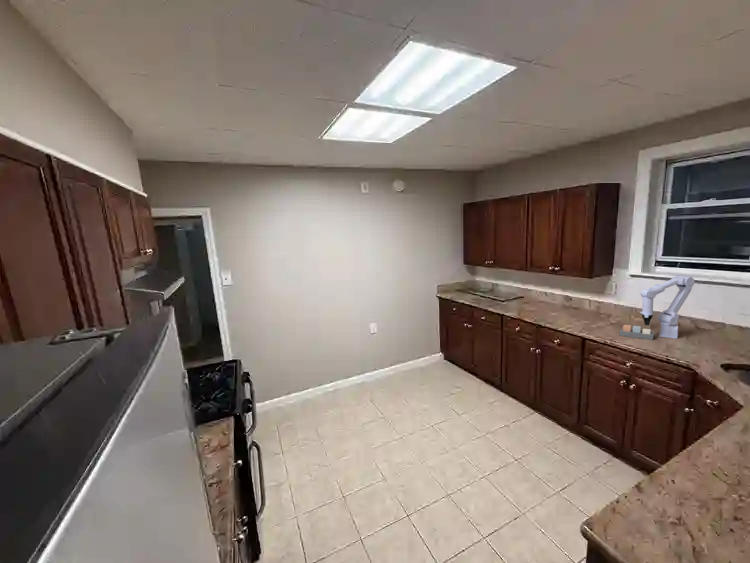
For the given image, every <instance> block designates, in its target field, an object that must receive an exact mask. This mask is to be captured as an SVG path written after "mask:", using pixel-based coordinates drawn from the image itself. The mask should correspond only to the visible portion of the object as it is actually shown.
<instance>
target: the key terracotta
mask: <svg viewBox="0 0 750 563" xmlns="http://www.w3.org/2000/svg"><path fill="white" fill-rule="evenodd" d="M622 328H623V331H627V332H631V329H632V325H631V324H623V326H622Z"/></svg>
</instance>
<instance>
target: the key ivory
mask: <svg viewBox="0 0 750 563" xmlns="http://www.w3.org/2000/svg"><path fill="white" fill-rule="evenodd" d="M642 331H643V332H642V333H643V334H651V332H652V329H649V328H642Z"/></svg>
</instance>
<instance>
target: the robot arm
mask: <svg viewBox="0 0 750 563" xmlns="http://www.w3.org/2000/svg"><path fill="white" fill-rule="evenodd" d="M695 284H696V281H695V279H694V277H692V276H687V275H680V274H677V275H675V276H673V277H671V279H669V280H667V281H666V282H664V283H662V284H659V283H658V284H657V283H655V285H654V286H652V287H648V288H647V289H645V288H644V289H642V290H641V293H640V296H641V298H642V306H641V307H642V311H640V312H639V313H640V314H642V315H641V317H642V319H643V322H644V326H650V323H651V320H652V318H653V315H654V299H655V298H656V296H657V295H659V294H661V293H663V292H665V290H666V289H669V288H670V287H672V286H673V287H674V286H676V287H677V288H678V292H677V293H676V295H675V297H674V298H673V300H672V302H670V305H669V306H668V308H667V309H665V310H663V311H662V312H661V313H660V314H658V317H657V319H658V320H657V321H659V323H660V329H659V334H658V337H661V338H668V339H669V338H670V339H678V336H679V325H678V321H679V318H680V315H679V314H678V312H679V310H680V309H681V307H682V306H683V305H684V304H685V301H686V300H687V298H688V296H689V295H690V294H691V292H692V289H693V286H694V285H695Z"/></svg>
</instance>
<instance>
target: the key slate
mask: <svg viewBox="0 0 750 563" xmlns="http://www.w3.org/2000/svg"><path fill="white" fill-rule="evenodd" d="M632 329H633V332H636V333H640V332H641V330H642V326H640V325H633V326H632Z"/></svg>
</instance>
